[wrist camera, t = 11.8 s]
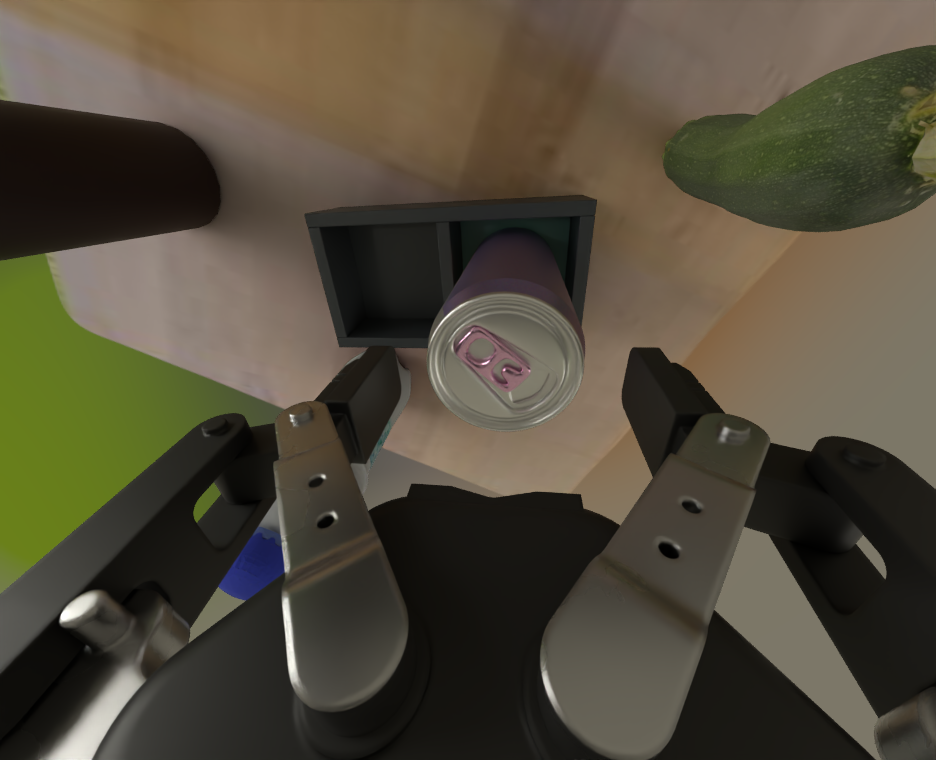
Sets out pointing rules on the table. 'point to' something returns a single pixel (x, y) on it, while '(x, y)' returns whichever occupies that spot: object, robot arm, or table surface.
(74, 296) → the table surface
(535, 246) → the beverage can
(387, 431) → the bottle
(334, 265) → the divided tray
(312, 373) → the table surface
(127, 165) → the vinegar
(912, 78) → the vegetable
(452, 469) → the table surface
